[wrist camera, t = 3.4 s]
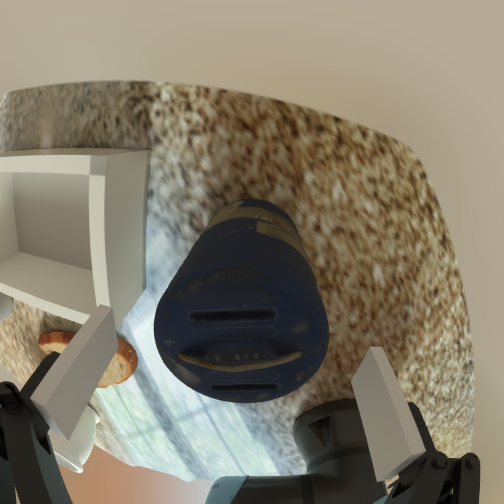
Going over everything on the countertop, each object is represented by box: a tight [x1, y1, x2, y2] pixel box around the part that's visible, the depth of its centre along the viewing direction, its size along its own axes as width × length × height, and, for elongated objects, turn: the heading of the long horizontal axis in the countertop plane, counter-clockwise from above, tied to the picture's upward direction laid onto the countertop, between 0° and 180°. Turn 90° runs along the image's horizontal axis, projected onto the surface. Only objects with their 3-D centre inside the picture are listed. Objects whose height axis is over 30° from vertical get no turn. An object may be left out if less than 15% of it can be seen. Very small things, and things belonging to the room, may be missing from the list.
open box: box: [0, 148, 152, 331], centre depth 24 cm, size 23×16×9 cm
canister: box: [154, 199, 329, 403], centre depth 20 cm, size 10×10×18 cm
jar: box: [48, 405, 100, 473], centre depth 37 cm, size 11×10×15 cm
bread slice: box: [38, 331, 138, 388], centre depth 35 cm, size 18×18×4 cm
